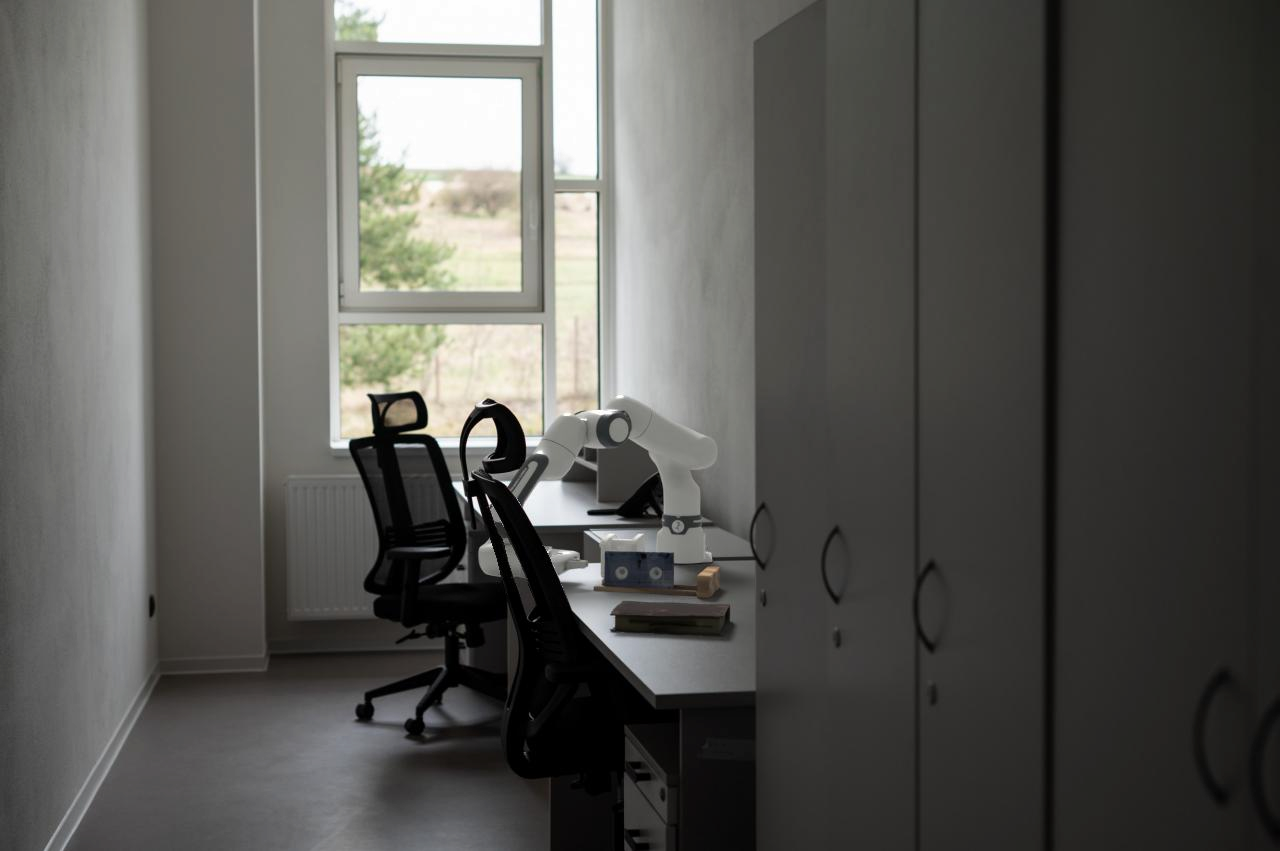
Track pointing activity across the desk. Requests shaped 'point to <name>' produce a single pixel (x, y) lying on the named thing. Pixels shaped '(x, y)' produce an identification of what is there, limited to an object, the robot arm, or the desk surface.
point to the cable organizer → (620, 546)
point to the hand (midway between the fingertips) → (586, 564)
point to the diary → (671, 618)
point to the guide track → (679, 586)
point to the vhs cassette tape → (639, 569)
